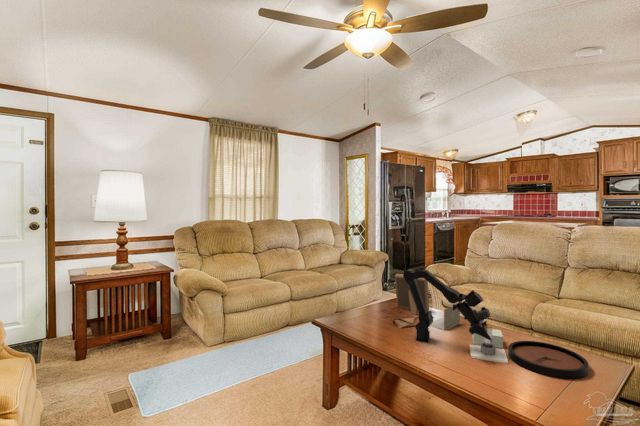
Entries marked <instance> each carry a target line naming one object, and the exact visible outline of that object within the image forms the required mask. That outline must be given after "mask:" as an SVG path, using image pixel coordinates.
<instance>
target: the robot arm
mask: <svg viewBox="0 0 640 426" xmlns="http://www.w3.org/2000/svg"><path fill="white" fill-rule="evenodd" d="M402 274H403V277H404V279H405V281H406V283H407V284H408V285H409V286H410V289H411V291H412V294H413V297H414V300H415V303H416V306H417V309H418V310H417V312H418V316H417V317H418V318H419V323H418V324H417V325H415V327H414V328H415V330H416V334H415V335H416V336H415V341H418V342H419V341H420V342H424V343H425V342H426V343H428V342H429V340H430V338H431V337H430V336H431V335H430V333H431V331H430V329H429V328H430V327H431V326H430V325H431V324H432V323H433V321H434V318H435V317H434V316H433V312H432V311H431V310H430V311H429V310H427V309H426V306H425V304H424V301H423V298H422V295H421V292H420V289H419V287H418V278H424V279H425V280H427V281H428V284H431V286H432V287H434V288H435V289H436V290H438V291H439V292H440V293H442V296H443V297H444V298H445V299H446V301H447V302H448V303H450V304H452V307H453V310H455V309H456V308H457V309H458V310H459V311H460V315H462V316H463V319H464V320H467V322H468V323H470V324H469V326H470V327H469V328H468V332H469V334H470V335H472V334H474V333H476V334H478V335H480V336H482V337H484V338H486V339H488V340H491V338H490V336H489V335H488V333H487V332H486V330H485V325H484V324H488V323H487V321H488V320H487V319H489V318H490V317H491V313H490V309H488V308H487V307H486V306H483V307H481V308H480V310H478V311H477V310H476V309H473V308H476V307H477V306H478V305H479V304H480V303H482V302H483V301H484V299H483V297H482V295H480V294H479V293H478V292H477V291H475V290H474V289H472V290H470V292H469V293H467V294H463V293H460V292H459V290H456V289H455V288H453V287H450V286H448V285H446V284H445V283H443V282H442V281H441V279H439V278H438V277H436V276H435V275H434V274H432V273H431V272H430V271H429V270H428V269H416V270H415V269H413V268H410V269H407V270H405V271H404V272H403V273H402ZM472 307H473V308H472Z"/></svg>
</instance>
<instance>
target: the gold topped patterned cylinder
mask: <svg viewBox="0 0 640 426" xmlns="http://www.w3.org/2000/svg"><path fill="white" fill-rule="evenodd" d="M484 325H485V330H486V332H487V333H488V335H489V336H490V338H491V340H488V339H486V338H484V346H485V347H489V348H492V329H493V324H490V323H487V324H484Z"/></svg>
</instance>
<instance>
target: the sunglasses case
mask: <svg viewBox="0 0 640 426" xmlns="http://www.w3.org/2000/svg"><path fill="white" fill-rule="evenodd" d="M418 323H419V318H418V316H416V317H408V318H407V317H405V318H395V319H393V321H392V324H393V325H394V326H395V327H397V328H398V329H407V328H415V325H417V324H418Z"/></svg>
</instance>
